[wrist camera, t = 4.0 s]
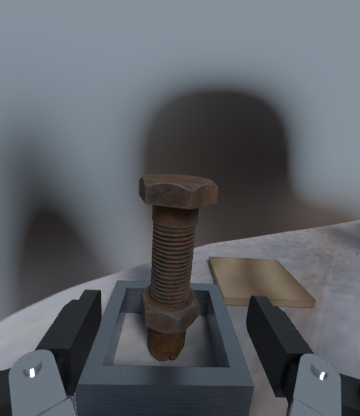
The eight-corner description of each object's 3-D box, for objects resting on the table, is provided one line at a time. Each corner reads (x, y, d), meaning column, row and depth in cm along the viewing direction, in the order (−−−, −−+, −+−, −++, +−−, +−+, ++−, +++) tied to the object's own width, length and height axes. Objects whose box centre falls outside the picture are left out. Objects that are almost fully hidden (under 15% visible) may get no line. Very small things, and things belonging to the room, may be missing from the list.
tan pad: (275, 265, 36) (276, 259, 36) (313, 307, 27) (315, 300, 26) (208, 262, 36) (209, 256, 35) (222, 304, 26) (223, 297, 26)
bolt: (122, 365, 18) (124, 177, 14) (145, 320, 23) (150, 171, 19) (194, 385, 17) (216, 187, 13) (201, 333, 22) (220, 178, 18)
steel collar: (214, 307, 25) (217, 284, 25) (247, 420, 15) (254, 385, 14) (117, 304, 25) (117, 280, 24) (77, 420, 14) (75, 384, 13)
